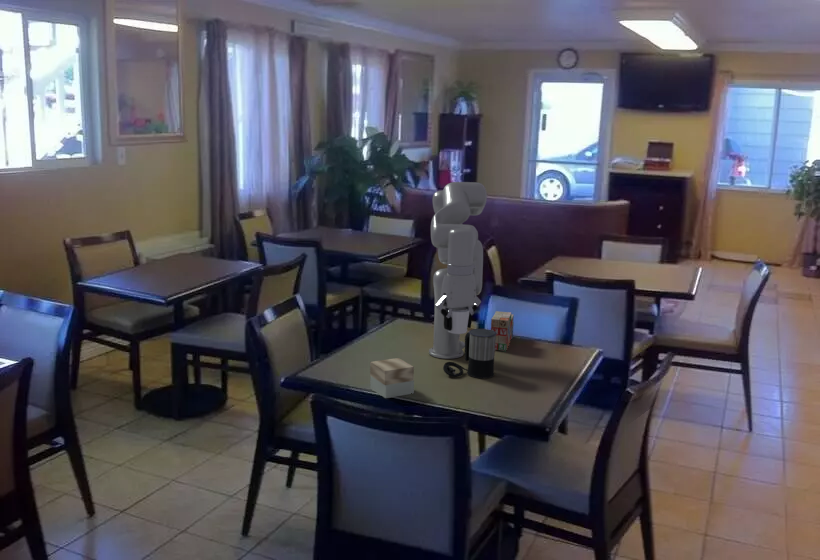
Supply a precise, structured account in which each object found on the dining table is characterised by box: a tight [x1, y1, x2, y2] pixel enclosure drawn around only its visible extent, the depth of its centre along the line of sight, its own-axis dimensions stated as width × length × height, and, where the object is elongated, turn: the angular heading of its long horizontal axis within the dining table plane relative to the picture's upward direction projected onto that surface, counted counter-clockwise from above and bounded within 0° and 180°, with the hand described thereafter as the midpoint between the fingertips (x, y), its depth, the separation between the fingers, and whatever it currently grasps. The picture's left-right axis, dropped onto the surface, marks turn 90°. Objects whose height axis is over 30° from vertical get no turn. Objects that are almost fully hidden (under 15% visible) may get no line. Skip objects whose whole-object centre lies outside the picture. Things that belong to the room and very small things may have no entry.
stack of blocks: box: [490, 310, 515, 352], centre depth 303 cm, size 21×6×12 cm, turn 166°
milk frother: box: [442, 328, 497, 379], centre depth 265 cm, size 14×16×15 cm
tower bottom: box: [369, 376, 415, 399], centre depth 248 cm, size 10×10×4 cm
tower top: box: [369, 357, 415, 385], centre depth 247 cm, size 10×10×4 cm
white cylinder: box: [448, 307, 470, 335], centre depth 239 cm, size 7×7×7 cm
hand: (457, 327), depth 239 cm, fingers closed on white cylinder, 6 cm apart
